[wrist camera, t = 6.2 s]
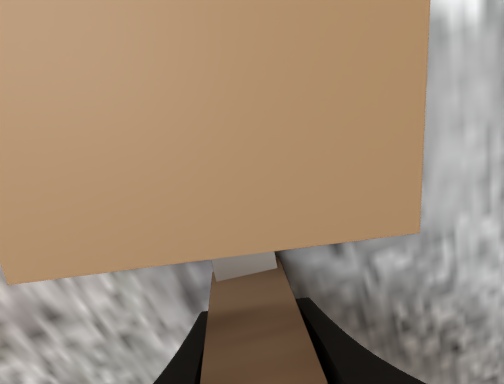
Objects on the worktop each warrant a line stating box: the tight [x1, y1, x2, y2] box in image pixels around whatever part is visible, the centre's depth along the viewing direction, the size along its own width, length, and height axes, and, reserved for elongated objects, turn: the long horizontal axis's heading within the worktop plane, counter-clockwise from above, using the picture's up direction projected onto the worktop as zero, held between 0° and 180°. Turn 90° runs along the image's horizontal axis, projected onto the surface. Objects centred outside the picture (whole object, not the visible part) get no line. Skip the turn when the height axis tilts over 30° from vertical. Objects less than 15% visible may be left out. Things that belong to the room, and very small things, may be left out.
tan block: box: [0, 0, 430, 285], centre depth 9 cm, size 10×10×7 cm
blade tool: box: [200, 251, 328, 384], centre depth 10 cm, size 13×4×7 cm, turn 11°
